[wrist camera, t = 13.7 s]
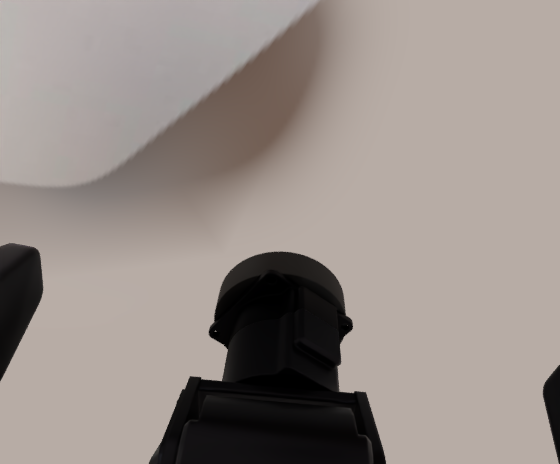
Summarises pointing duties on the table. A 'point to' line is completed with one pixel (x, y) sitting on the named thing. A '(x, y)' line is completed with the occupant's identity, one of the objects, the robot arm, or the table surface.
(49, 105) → the table surface
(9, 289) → the robot arm
